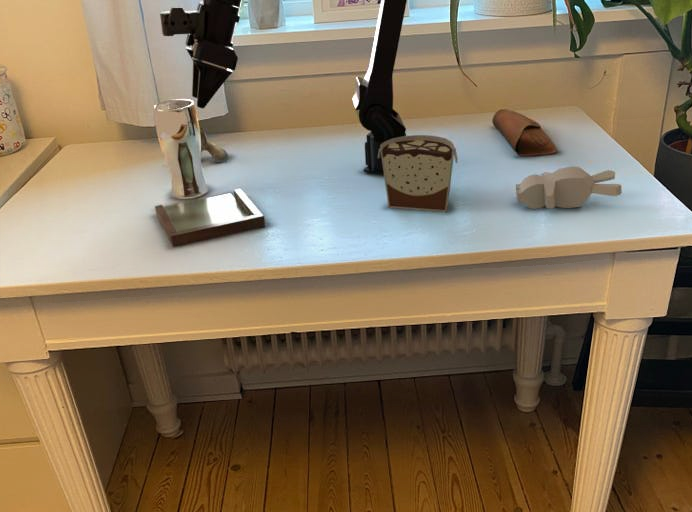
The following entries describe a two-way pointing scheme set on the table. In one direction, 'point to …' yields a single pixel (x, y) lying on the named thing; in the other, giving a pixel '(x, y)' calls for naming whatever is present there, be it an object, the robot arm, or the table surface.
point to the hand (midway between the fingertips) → (197, 102)
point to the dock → (209, 218)
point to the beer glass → (181, 146)
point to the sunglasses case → (523, 134)
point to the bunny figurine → (564, 188)
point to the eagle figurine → (212, 148)
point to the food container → (418, 171)
